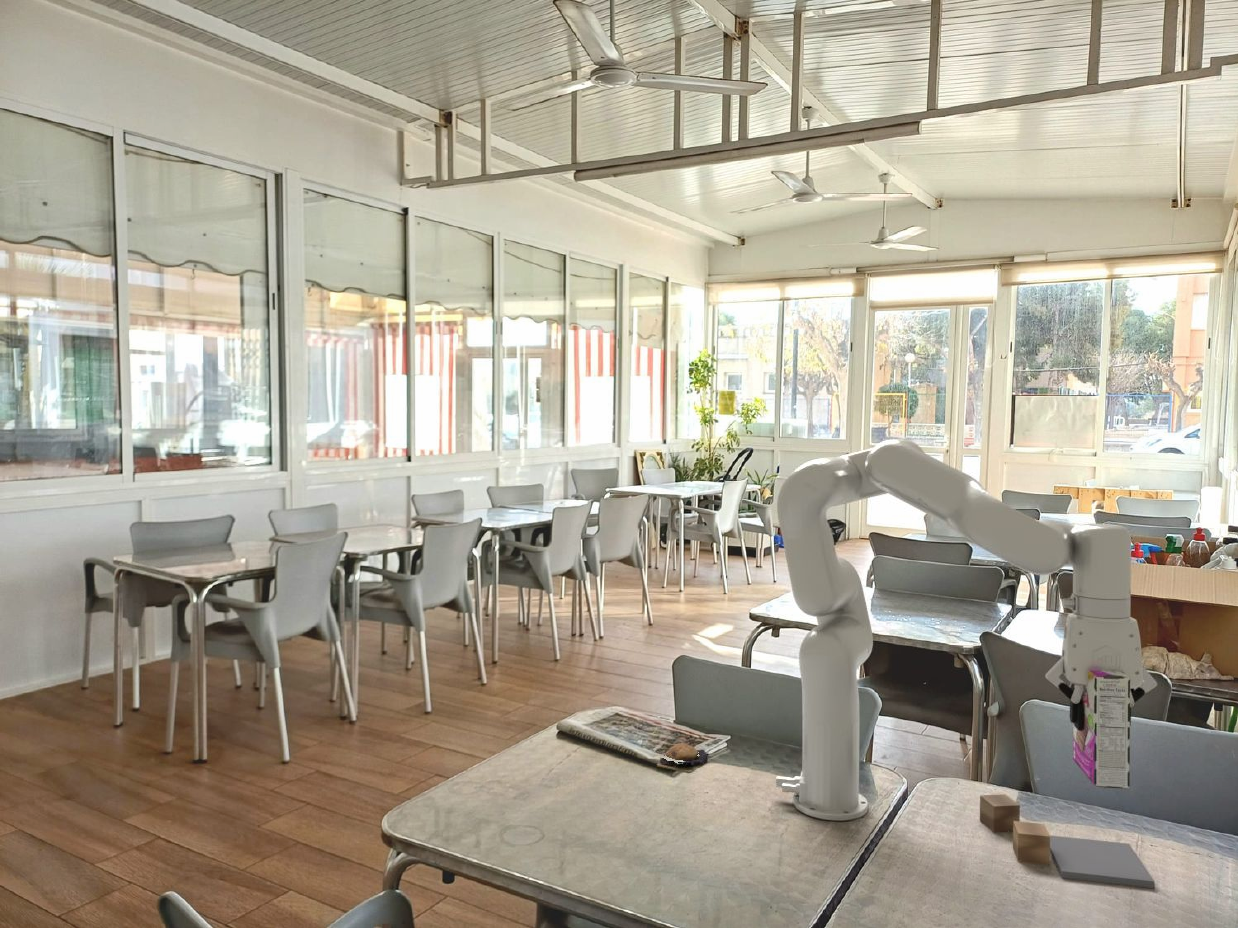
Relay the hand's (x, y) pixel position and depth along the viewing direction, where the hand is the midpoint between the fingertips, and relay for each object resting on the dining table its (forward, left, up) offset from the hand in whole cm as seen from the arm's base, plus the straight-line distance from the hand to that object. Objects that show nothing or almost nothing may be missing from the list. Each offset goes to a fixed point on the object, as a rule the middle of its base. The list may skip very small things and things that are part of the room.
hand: (1099, 727), depth 133 cm
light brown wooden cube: (-9, 0, -21) cm, 22 cm away
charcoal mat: (0, 0, -21) cm, 21 cm away
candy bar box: (0, 0, -7) cm, 7 cm away
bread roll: (-67, +26, -21) cm, 75 cm away
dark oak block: (-12, +10, -21) cm, 26 cm away
